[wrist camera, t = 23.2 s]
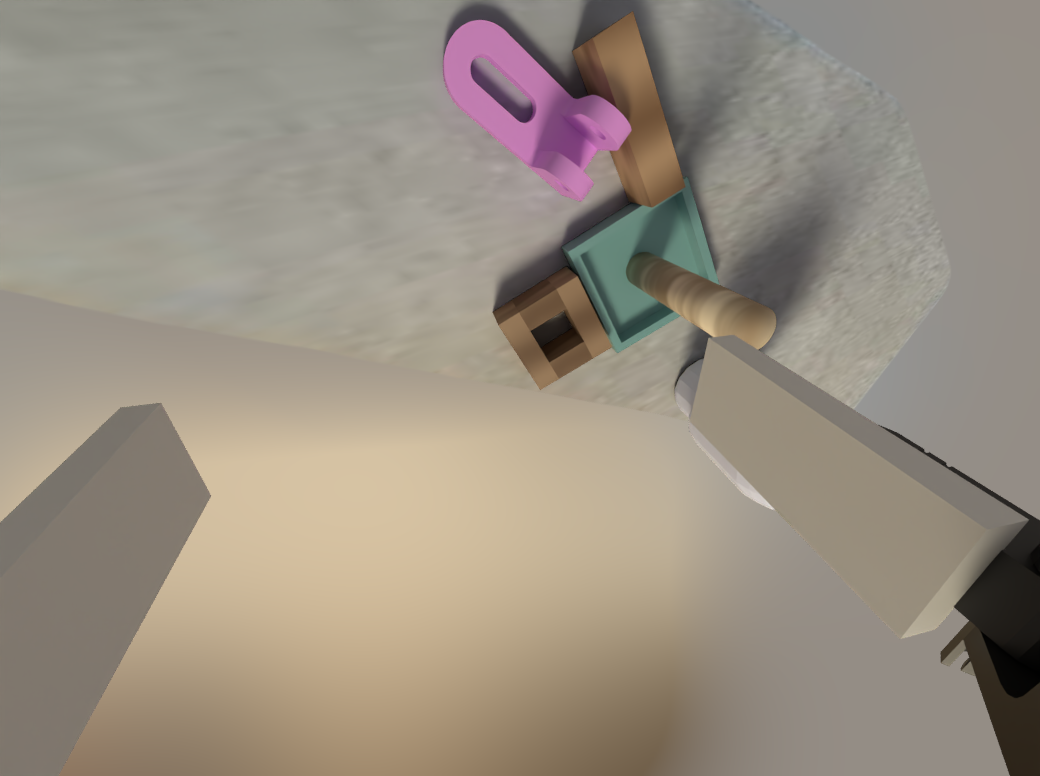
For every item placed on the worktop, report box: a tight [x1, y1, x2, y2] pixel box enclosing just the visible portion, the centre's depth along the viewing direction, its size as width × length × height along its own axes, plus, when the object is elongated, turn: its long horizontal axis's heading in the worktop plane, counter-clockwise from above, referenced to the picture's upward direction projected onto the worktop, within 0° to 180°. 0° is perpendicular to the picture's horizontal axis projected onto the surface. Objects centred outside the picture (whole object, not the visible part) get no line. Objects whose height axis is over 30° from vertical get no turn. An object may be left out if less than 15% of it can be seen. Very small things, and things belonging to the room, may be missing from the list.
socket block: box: [493, 267, 612, 390], centre depth 41 cm, size 8×8×4 cm
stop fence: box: [572, 11, 686, 208], centre depth 33 cm, size 12×3×4 cm, turn 30°
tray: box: [561, 177, 719, 353], centre depth 40 cm, size 12×12×2 cm
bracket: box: [443, 20, 631, 201], centre depth 30 cm, size 13×6×7 cm, turn 54°
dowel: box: [626, 252, 776, 350], centre depth 34 cm, size 3×3×16 cm
